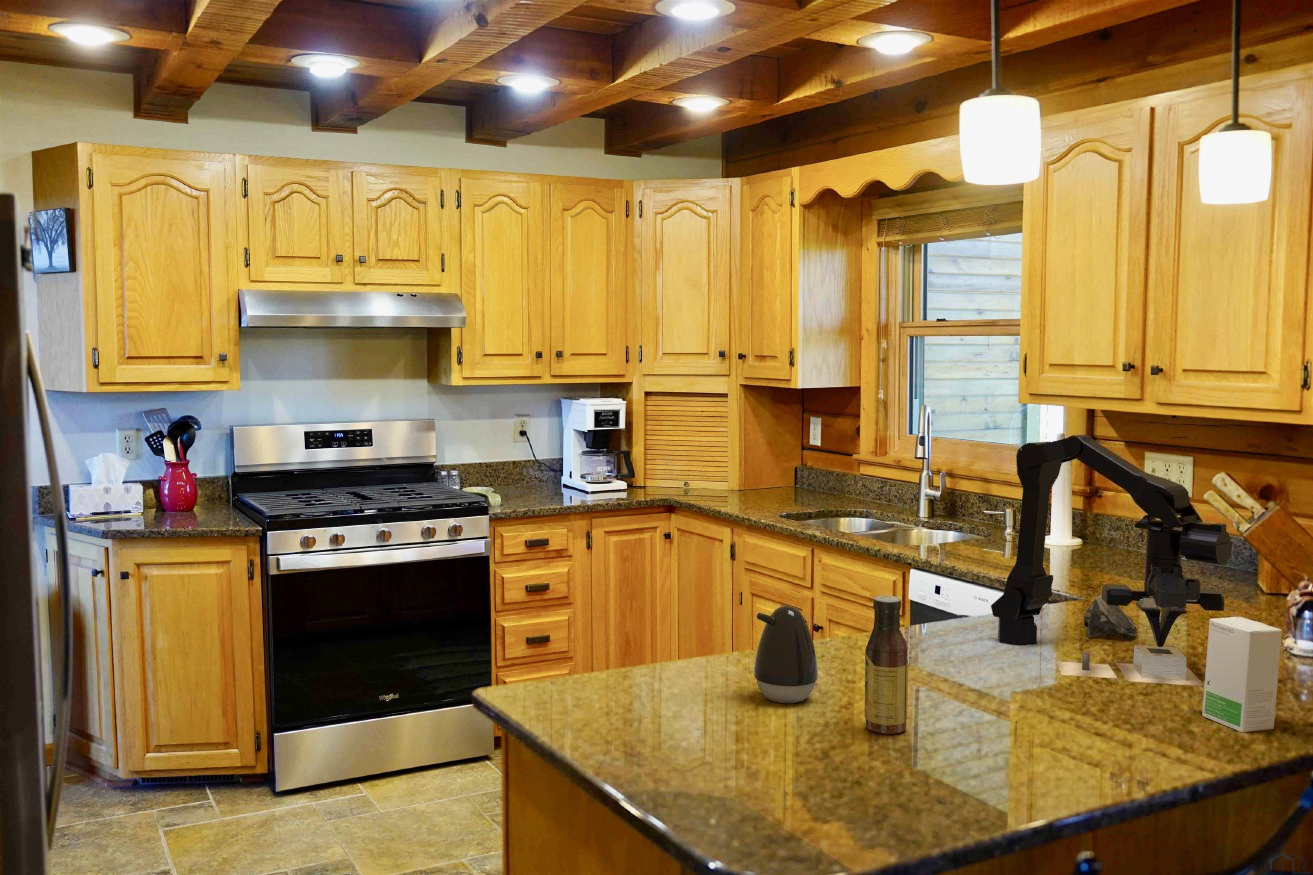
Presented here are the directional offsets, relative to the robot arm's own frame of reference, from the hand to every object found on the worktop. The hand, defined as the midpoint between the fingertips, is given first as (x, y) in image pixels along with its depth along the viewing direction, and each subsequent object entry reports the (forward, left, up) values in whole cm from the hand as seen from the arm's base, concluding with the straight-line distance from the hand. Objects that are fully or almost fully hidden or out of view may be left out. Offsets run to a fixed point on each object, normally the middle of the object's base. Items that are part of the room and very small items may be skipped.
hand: (1159, 646), depth 200 cm
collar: (0, 0, -5) cm, 5 cm away
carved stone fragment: (-2, +33, -6) cm, 33 cm away
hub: (0, 0, -6) cm, 6 cm away
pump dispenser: (-62, -26, -6) cm, 68 cm away
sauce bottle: (-46, -38, -6) cm, 60 cm away
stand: (-12, 0, -6) cm, 13 cm away
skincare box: (+7, -22, -6) cm, 24 cm away
